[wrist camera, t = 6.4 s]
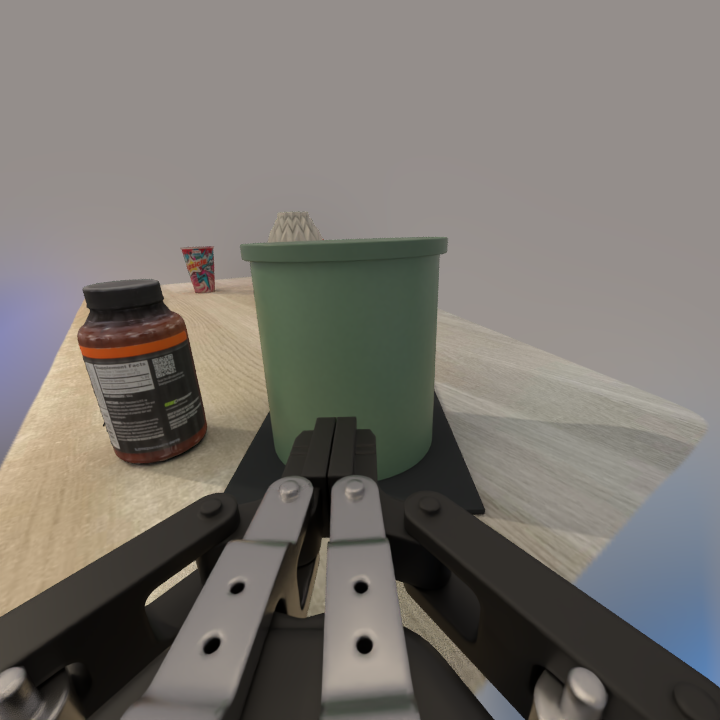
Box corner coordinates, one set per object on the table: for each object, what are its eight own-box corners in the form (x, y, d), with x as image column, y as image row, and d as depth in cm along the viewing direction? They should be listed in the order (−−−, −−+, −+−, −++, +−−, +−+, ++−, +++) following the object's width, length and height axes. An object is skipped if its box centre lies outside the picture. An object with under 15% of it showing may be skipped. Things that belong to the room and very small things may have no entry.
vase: (344, 302, 76) (340, 209, 69) (267, 309, 71) (255, 210, 65) (327, 292, 90) (322, 214, 84) (261, 297, 85) (251, 215, 79)
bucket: (463, 420, 26) (477, 235, 22) (377, 521, 17) (371, 242, 13) (340, 386, 33) (332, 239, 28) (231, 446, 24) (195, 246, 19)
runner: (484, 514, 18) (485, 509, 18) (213, 516, 18) (212, 512, 18) (405, 324, 56) (405, 322, 55) (317, 326, 56) (317, 324, 56)
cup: (182, 293, 96) (172, 247, 92) (200, 289, 103) (192, 246, 99) (213, 293, 94) (205, 246, 90) (229, 289, 102) (222, 245, 98)
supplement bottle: (152, 420, 28) (114, 277, 24) (223, 422, 28) (195, 275, 24) (92, 467, 23) (31, 291, 19) (179, 469, 22) (135, 288, 18)
